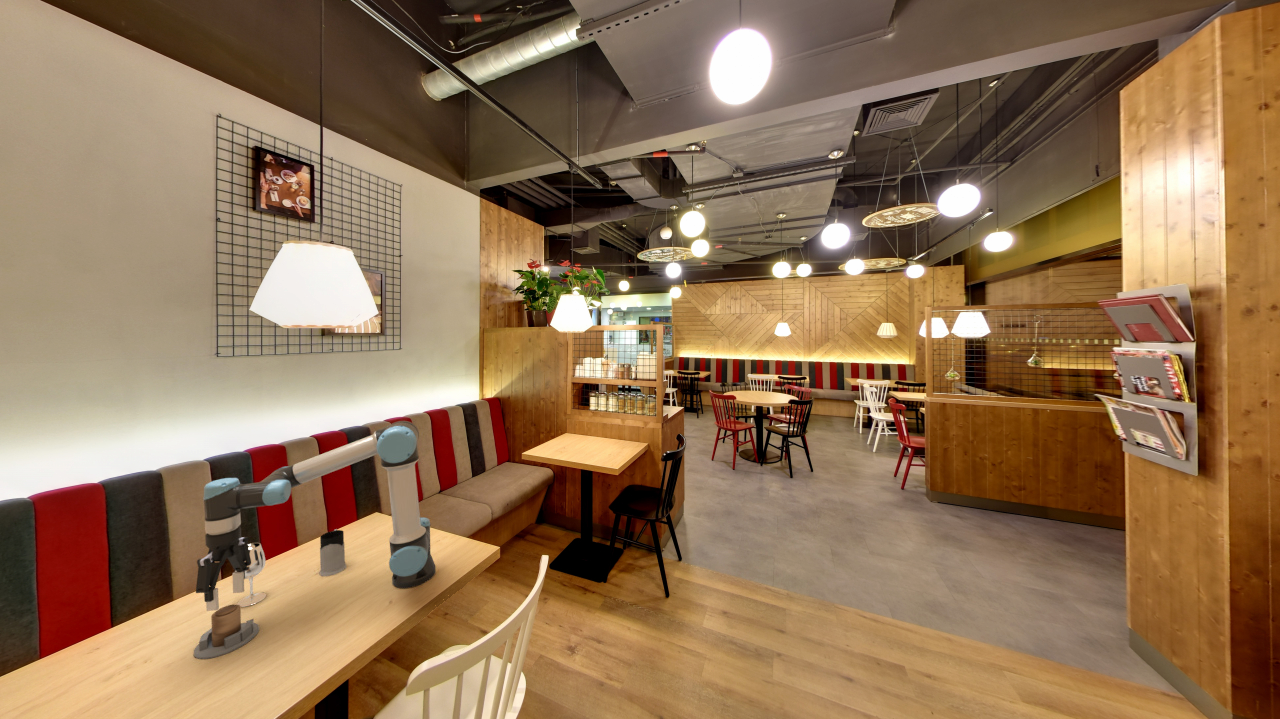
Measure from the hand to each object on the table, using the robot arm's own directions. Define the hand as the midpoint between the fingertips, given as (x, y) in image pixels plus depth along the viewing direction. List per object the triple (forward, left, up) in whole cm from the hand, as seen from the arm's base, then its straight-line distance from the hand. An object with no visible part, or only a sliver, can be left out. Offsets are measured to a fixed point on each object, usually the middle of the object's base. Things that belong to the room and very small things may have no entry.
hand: (226, 600), depth 120 cm
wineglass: (+10, -20, -13) cm, 26 cm away
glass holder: (-5, -40, -13) cm, 42 cm away
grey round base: (0, 0, -13) cm, 13 cm away
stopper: (0, 0, -12) cm, 12 cm away
